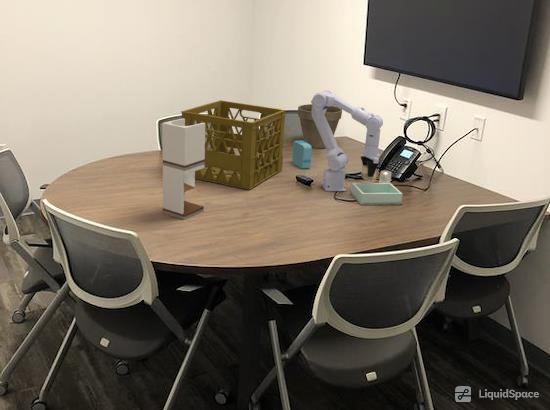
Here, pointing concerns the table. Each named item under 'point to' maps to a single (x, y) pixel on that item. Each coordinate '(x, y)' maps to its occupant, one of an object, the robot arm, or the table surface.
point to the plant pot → (309, 125)
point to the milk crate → (239, 143)
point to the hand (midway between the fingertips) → (368, 174)
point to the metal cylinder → (385, 177)
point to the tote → (376, 194)
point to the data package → (301, 154)
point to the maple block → (365, 173)
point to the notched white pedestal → (181, 165)
